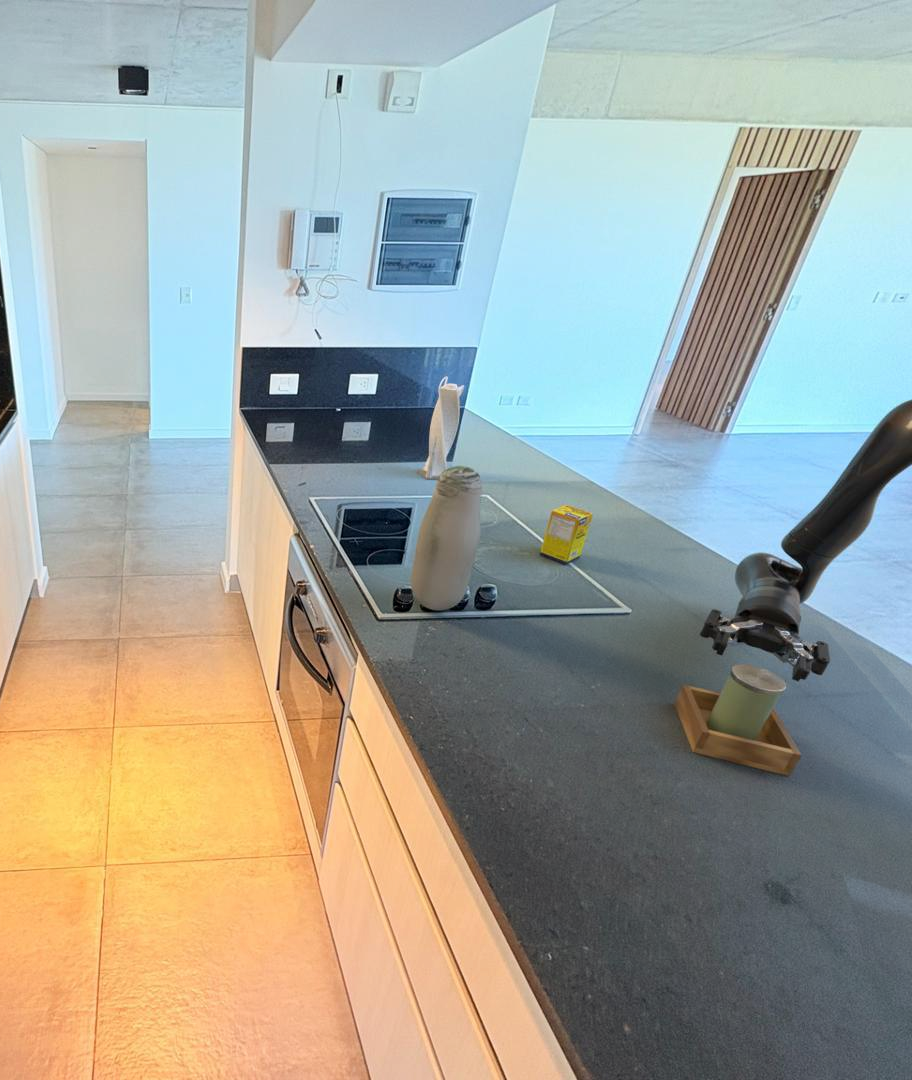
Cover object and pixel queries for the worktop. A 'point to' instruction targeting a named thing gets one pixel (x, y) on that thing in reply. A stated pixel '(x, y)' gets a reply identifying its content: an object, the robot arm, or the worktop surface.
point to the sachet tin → (745, 702)
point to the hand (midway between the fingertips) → (758, 662)
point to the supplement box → (566, 534)
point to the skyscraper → (442, 429)
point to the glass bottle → (448, 540)
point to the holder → (764, 753)
